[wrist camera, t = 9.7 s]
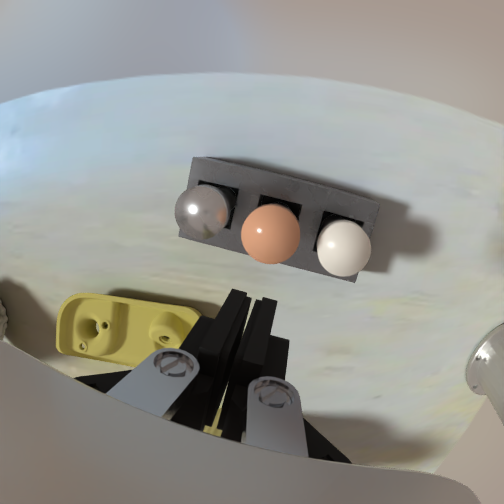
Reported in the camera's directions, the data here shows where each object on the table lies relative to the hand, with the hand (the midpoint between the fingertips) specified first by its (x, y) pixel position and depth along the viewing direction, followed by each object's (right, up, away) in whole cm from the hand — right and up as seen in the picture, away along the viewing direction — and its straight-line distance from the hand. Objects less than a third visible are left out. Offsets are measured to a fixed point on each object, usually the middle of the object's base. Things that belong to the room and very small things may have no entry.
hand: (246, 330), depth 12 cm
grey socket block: (+3, +7, +22) cm, 24 cm away
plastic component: (-15, -7, +30) cm, 34 cm away
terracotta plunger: (+3, +6, +21) cm, 22 cm away
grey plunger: (-3, +8, +23) cm, 24 cm away
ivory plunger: (+9, +5, +22) cm, 24 cm away
